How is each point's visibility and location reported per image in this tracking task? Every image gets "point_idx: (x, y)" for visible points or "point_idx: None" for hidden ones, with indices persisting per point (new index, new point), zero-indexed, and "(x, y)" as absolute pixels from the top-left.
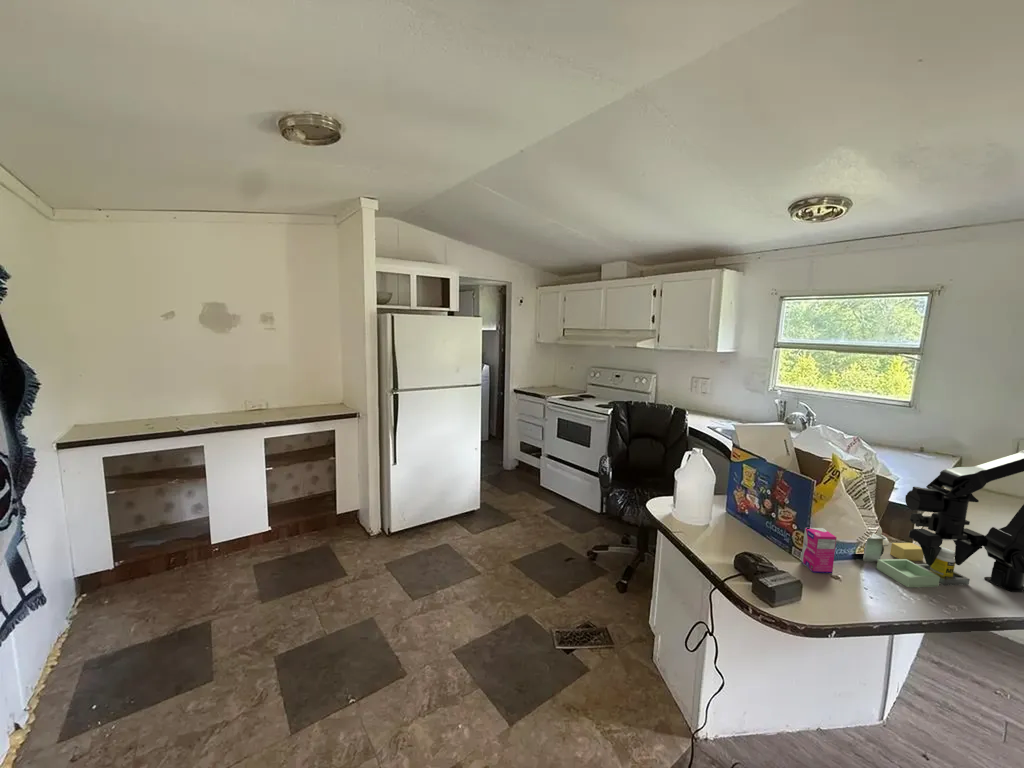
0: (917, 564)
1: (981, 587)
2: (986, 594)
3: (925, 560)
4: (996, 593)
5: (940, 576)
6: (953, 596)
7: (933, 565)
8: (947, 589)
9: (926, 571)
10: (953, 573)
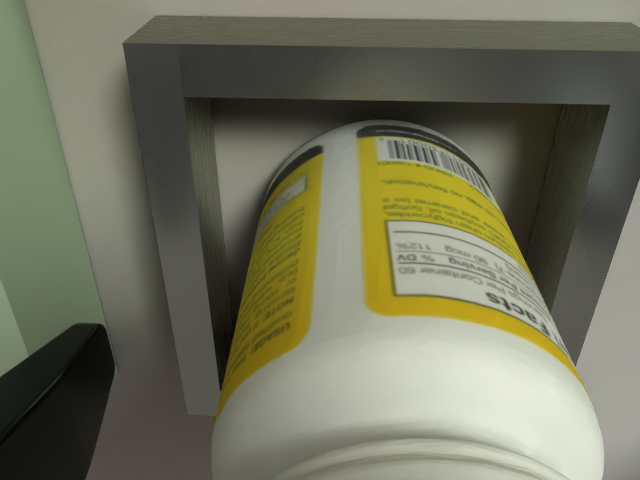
0: (161, 64)
1: (619, 402)
2: None
3: (26, 360)
4: (625, 471)
5: (206, 371)
6: (128, 474)
7: (241, 302)
8: (181, 405)
9: (4, 368)
10: (547, 288)
